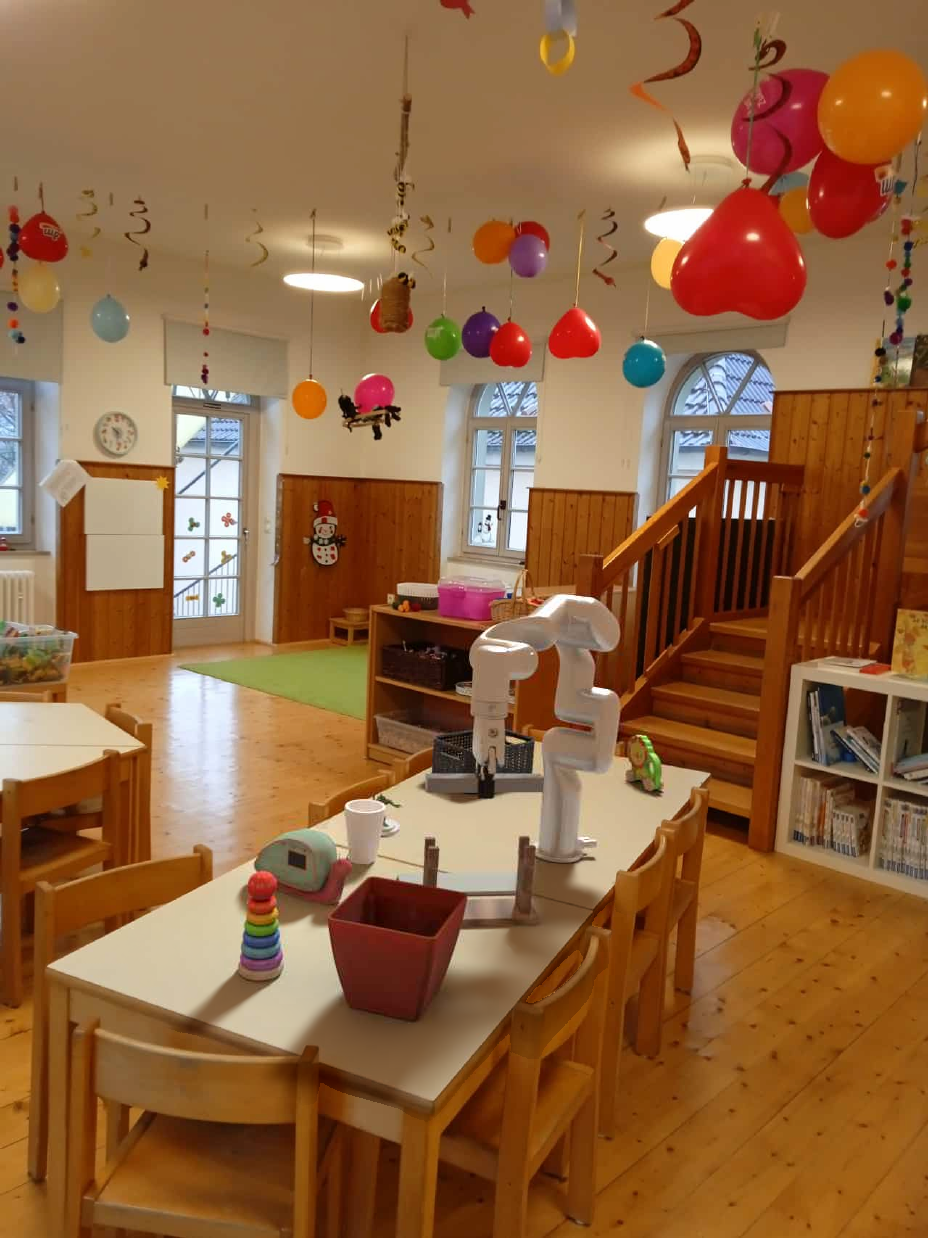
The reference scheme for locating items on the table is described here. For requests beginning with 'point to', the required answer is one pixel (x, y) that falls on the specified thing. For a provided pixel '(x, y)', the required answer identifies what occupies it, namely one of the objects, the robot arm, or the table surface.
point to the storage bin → (467, 761)
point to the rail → (471, 783)
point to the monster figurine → (388, 824)
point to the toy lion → (644, 763)
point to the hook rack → (493, 909)
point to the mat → (471, 882)
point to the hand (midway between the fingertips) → (483, 794)
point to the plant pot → (395, 944)
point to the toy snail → (305, 865)
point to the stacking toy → (261, 931)
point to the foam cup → (364, 829)
